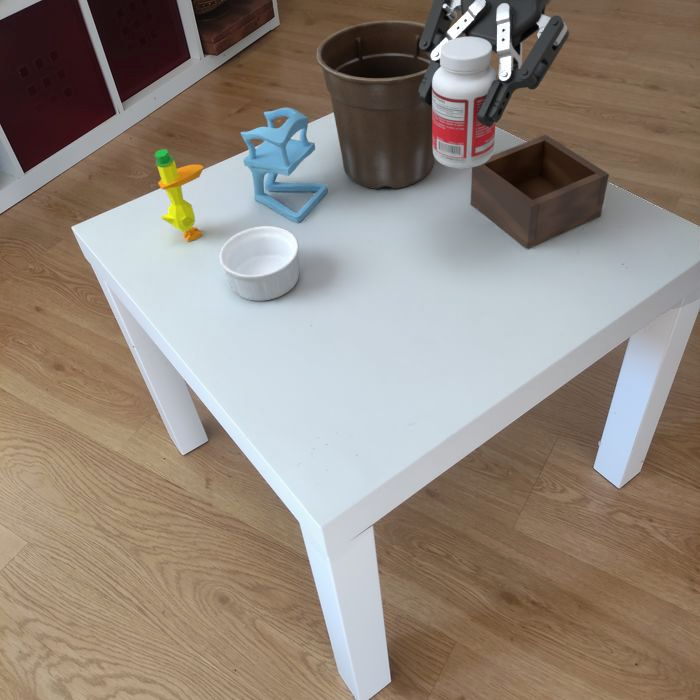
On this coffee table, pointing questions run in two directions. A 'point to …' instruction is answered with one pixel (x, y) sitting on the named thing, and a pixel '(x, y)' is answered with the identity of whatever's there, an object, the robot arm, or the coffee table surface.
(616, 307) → the coffee table surface
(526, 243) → the holder
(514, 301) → the coffee table surface
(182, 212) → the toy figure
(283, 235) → the ramekin
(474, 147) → the pill bottle
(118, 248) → the coffee table surface
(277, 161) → the chair
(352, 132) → the plant pot
